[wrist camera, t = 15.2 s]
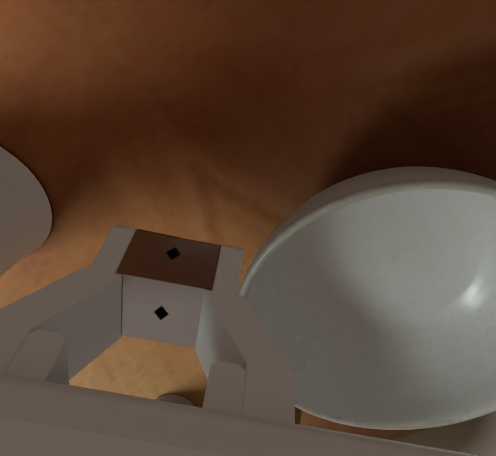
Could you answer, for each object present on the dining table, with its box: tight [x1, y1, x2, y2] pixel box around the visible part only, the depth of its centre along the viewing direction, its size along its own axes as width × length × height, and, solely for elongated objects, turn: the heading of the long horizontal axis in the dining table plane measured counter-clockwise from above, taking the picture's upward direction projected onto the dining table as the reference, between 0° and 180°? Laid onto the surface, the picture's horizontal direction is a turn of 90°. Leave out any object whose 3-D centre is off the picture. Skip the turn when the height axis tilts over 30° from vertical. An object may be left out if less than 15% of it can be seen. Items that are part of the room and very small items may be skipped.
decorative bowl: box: [238, 167, 496, 430], centre depth 41 cm, size 27×27×12 cm
